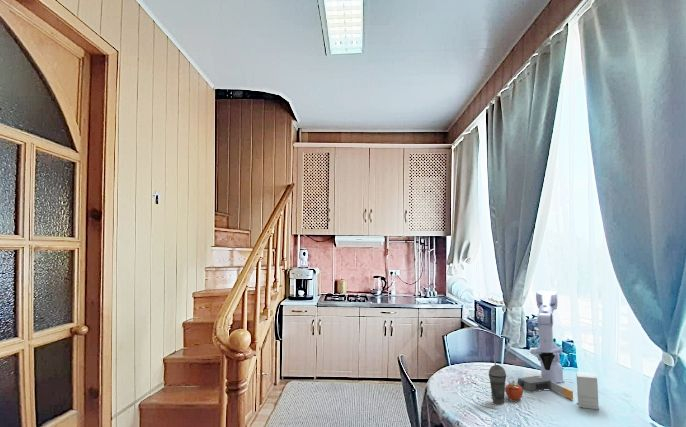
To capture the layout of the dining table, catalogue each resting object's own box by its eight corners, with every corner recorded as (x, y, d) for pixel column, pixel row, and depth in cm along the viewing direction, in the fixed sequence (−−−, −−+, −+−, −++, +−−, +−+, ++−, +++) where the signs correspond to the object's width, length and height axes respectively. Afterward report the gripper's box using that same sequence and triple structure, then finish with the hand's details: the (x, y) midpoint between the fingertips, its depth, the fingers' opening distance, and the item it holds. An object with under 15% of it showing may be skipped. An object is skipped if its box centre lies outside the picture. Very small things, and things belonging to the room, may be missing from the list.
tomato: (505, 401, 194) (504, 382, 194) (505, 395, 201) (504, 377, 201) (523, 403, 191) (523, 383, 192) (523, 397, 198) (522, 378, 199)
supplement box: (597, 404, 189) (595, 373, 190) (599, 410, 182) (597, 378, 183) (577, 401, 192) (576, 371, 193) (578, 407, 185) (576, 376, 186)
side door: (550, 388, 208) (549, 381, 208) (552, 388, 208) (552, 380, 209) (571, 399, 194) (570, 391, 194) (573, 399, 194) (573, 391, 194)
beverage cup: (505, 406, 187) (503, 357, 188) (487, 403, 191) (485, 355, 192) (509, 401, 193) (507, 353, 195) (491, 398, 197) (490, 351, 198)
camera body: (539, 384, 216) (538, 374, 216) (552, 389, 208) (551, 379, 209) (516, 387, 212) (516, 377, 212) (528, 392, 204) (528, 382, 205)
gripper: (536, 342, 203) (537, 372, 202) (565, 340, 205) (567, 371, 204) (527, 338, 210) (529, 368, 209) (556, 337, 212) (557, 367, 211)
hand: (547, 369), depth 207 cm, fingers closed
